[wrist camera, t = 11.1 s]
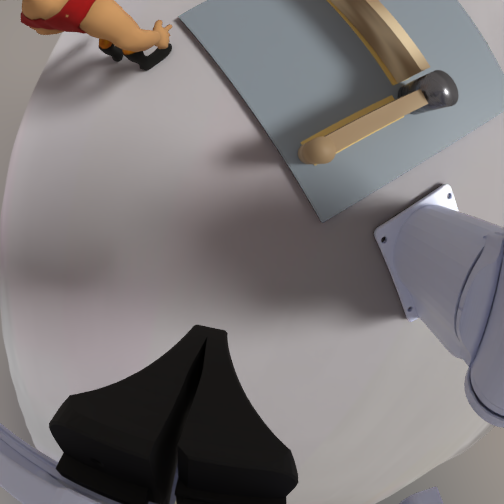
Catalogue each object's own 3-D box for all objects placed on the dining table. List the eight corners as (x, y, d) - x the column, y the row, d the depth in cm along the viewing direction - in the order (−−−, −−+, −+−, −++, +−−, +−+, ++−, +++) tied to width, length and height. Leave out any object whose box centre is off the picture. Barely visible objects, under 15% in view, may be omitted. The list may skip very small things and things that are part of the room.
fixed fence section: (404, 114, 15) (436, 104, 11) (304, 168, 17) (317, 168, 13) (394, 96, 15) (424, 83, 11) (293, 149, 16) (303, 144, 12)
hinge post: (428, 108, 15) (463, 100, 11) (408, 119, 15) (442, 111, 11) (413, 81, 14) (445, 66, 10) (392, 90, 15) (423, 74, 11)
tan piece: (408, 78, 14) (438, 63, 10) (396, 84, 14) (425, 69, 10) (304, -36, 11) (311, -65, 7) (290, -32, 12) (295, -62, 8)
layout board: (513, 103, 14) (516, 103, 13) (320, 221, 19) (322, 223, 18) (412, -45, 9) (414, -47, 9) (180, 19, 14) (177, 15, 14)
